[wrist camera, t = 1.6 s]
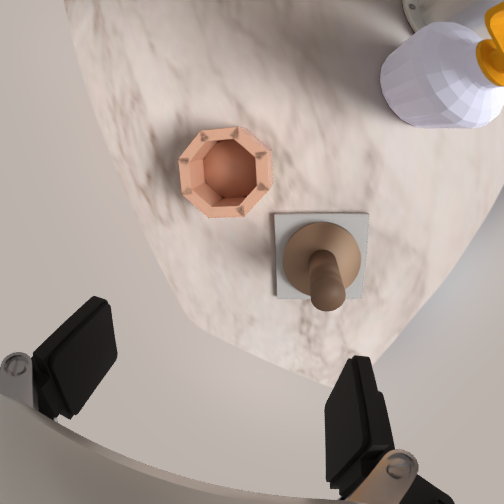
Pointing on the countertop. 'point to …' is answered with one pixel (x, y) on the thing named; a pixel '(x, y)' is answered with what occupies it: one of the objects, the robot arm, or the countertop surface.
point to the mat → (294, 221)
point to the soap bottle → (448, 75)
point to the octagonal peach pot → (225, 172)
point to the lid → (322, 263)
